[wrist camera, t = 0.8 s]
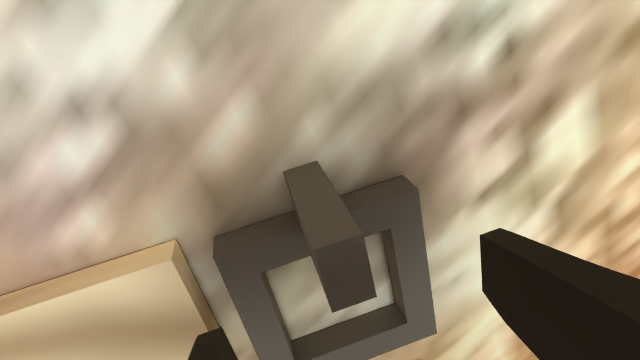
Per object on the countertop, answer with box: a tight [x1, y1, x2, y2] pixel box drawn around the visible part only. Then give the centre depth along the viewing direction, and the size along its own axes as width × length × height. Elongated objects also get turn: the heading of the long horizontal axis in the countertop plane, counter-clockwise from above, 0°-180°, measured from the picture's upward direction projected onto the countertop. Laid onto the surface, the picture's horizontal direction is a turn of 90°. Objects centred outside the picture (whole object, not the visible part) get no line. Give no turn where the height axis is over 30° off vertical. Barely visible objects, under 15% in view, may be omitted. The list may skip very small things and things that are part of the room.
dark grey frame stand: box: [213, 161, 437, 360], centre depth 16 cm, size 11×9×6 cm
